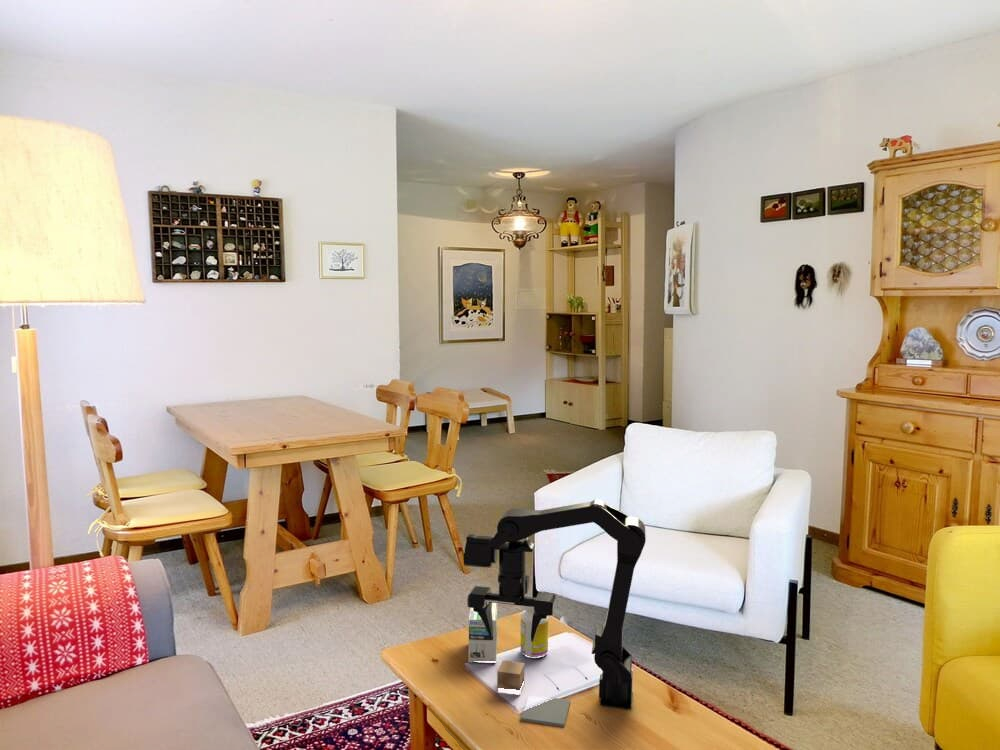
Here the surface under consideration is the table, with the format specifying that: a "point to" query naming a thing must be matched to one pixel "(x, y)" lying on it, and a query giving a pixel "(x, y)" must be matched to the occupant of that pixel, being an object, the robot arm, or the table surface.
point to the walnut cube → (510, 675)
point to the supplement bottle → (541, 637)
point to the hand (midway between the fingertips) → (511, 638)
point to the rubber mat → (548, 712)
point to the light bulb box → (482, 637)
